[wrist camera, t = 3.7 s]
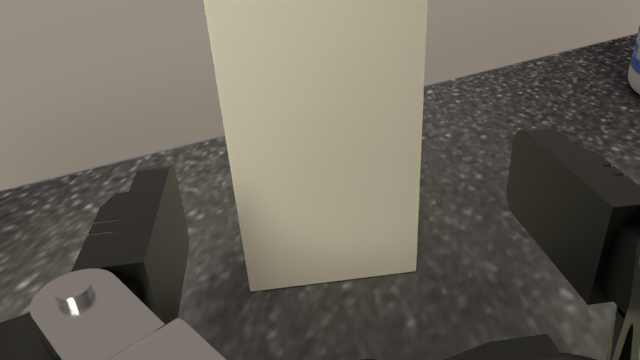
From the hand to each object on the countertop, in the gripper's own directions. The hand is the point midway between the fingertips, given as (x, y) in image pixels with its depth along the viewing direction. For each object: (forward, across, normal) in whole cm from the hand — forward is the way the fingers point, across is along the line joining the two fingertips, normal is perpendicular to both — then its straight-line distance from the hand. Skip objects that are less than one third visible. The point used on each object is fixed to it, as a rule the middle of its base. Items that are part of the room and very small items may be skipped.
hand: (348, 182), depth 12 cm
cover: (+8, 0, +7) cm, 11 cm away
